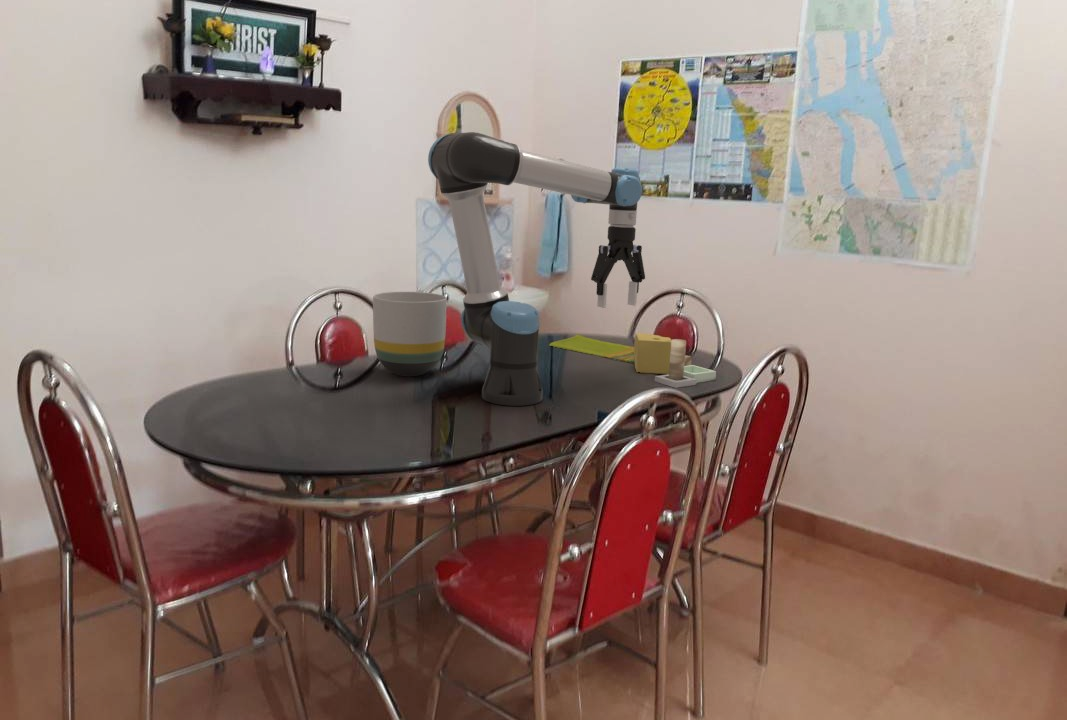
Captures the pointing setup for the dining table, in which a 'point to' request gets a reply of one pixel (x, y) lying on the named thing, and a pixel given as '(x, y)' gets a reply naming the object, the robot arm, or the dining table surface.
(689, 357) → the stop block
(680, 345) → the dowel
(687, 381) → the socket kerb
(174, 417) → the dining table surface
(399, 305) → the planter
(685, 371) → the tray
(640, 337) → the cheese
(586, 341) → the dish towel
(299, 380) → the dining table surface
